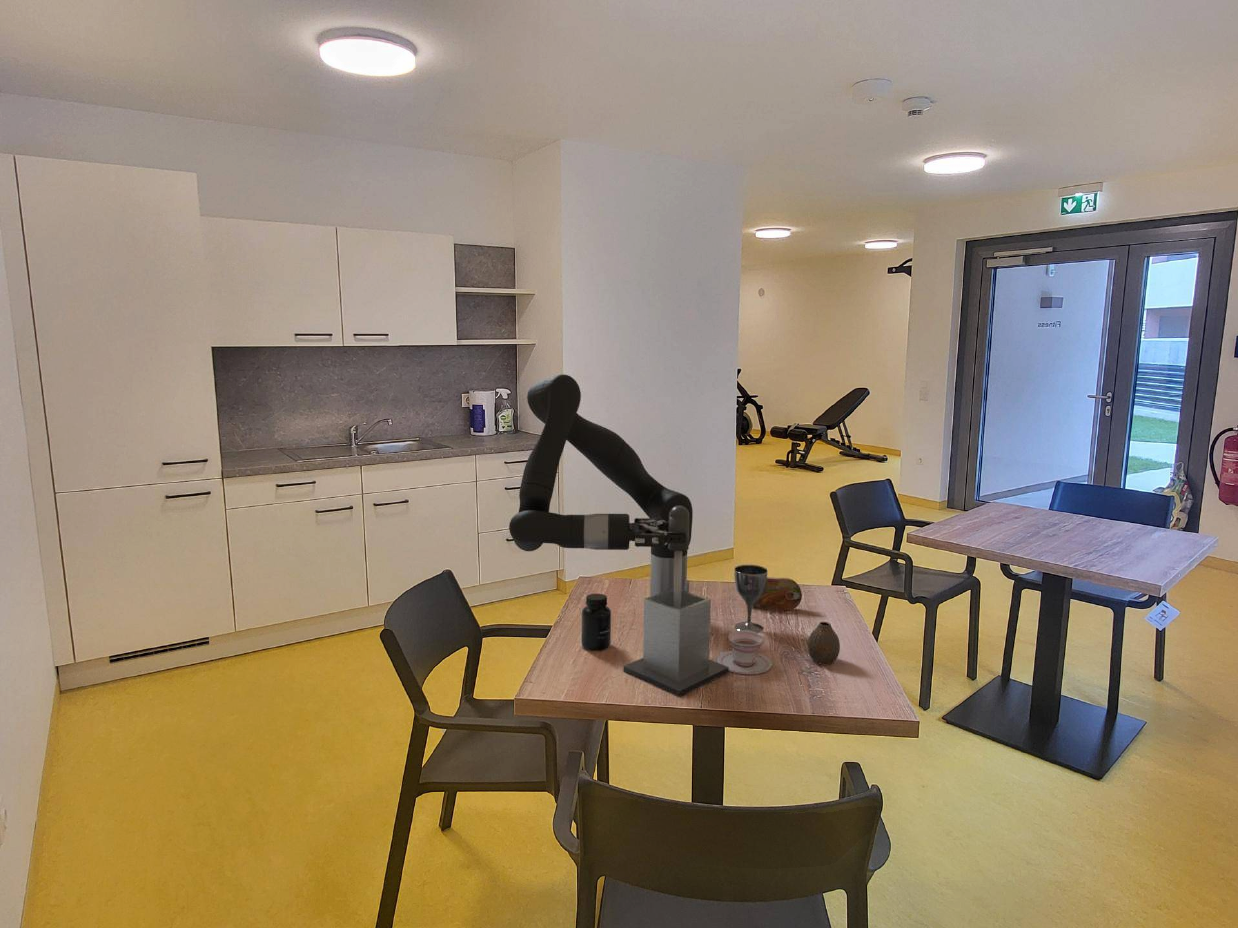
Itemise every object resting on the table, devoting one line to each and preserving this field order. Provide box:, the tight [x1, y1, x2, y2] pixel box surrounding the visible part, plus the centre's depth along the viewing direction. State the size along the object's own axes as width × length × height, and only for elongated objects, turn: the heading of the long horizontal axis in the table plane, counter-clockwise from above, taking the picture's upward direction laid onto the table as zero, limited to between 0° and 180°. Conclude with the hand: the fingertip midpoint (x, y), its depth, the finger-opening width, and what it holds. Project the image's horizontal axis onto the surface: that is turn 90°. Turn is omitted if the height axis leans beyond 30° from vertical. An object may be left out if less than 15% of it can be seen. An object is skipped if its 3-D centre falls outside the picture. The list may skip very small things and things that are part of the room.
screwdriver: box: [668, 506, 690, 609], centre depth 158 cm, size 8×8×25 cm
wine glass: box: [733, 564, 768, 633], centre depth 186 cm, size 8×8×15 cm
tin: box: [752, 576, 803, 612], centre depth 200 cm, size 15×3×8 cm, turn 77°
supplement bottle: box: [580, 593, 612, 652], centre depth 175 cm, size 7×7×12 cm
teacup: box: [716, 630, 773, 675], centre depth 166 cm, size 12×12×6 cm
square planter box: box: [622, 589, 730, 697], centre depth 161 cm, size 16×16×16 cm
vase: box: [807, 621, 841, 665], centre depth 167 cm, size 7×7×9 cm
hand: (684, 532), depth 157 cm, fingers open, 8 cm apart
